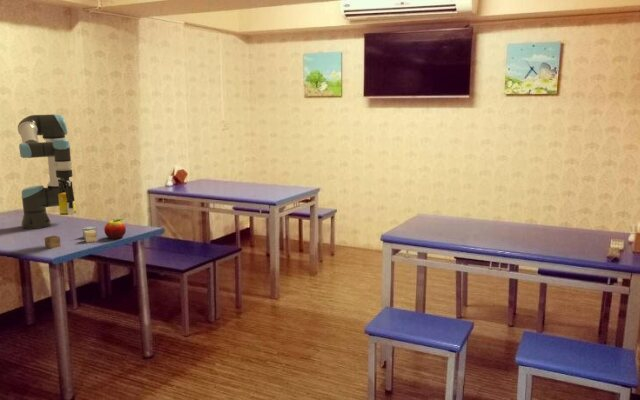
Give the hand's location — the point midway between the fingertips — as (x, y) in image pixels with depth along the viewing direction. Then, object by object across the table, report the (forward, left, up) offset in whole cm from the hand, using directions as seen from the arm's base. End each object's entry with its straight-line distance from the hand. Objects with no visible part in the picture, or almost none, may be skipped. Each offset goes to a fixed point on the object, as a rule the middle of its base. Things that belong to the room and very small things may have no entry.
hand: (68, 213), depth 270 cm
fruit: (+9, +20, -15) cm, 27 cm away
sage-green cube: (-3, +11, -15) cm, 19 cm away
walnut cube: (+4, -10, -15) cm, 19 cm away
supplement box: (0, 0, -1) cm, 1 cm away
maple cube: (+6, +8, -15) cm, 18 cm away
